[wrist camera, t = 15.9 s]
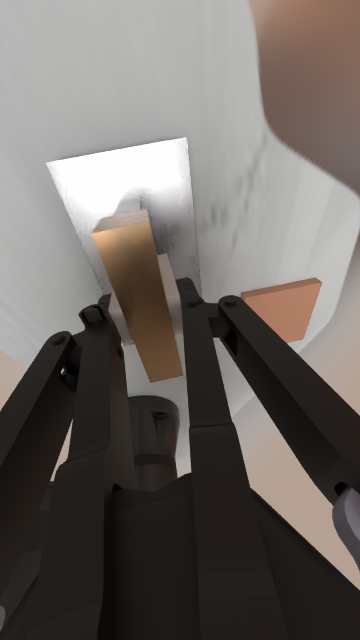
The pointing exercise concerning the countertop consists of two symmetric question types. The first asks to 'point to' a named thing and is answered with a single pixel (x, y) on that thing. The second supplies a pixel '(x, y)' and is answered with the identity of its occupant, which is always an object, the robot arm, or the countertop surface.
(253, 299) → the tile
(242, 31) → the countertop surface
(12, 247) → the countertop surface
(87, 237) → the trowel
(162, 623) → the robot arm
